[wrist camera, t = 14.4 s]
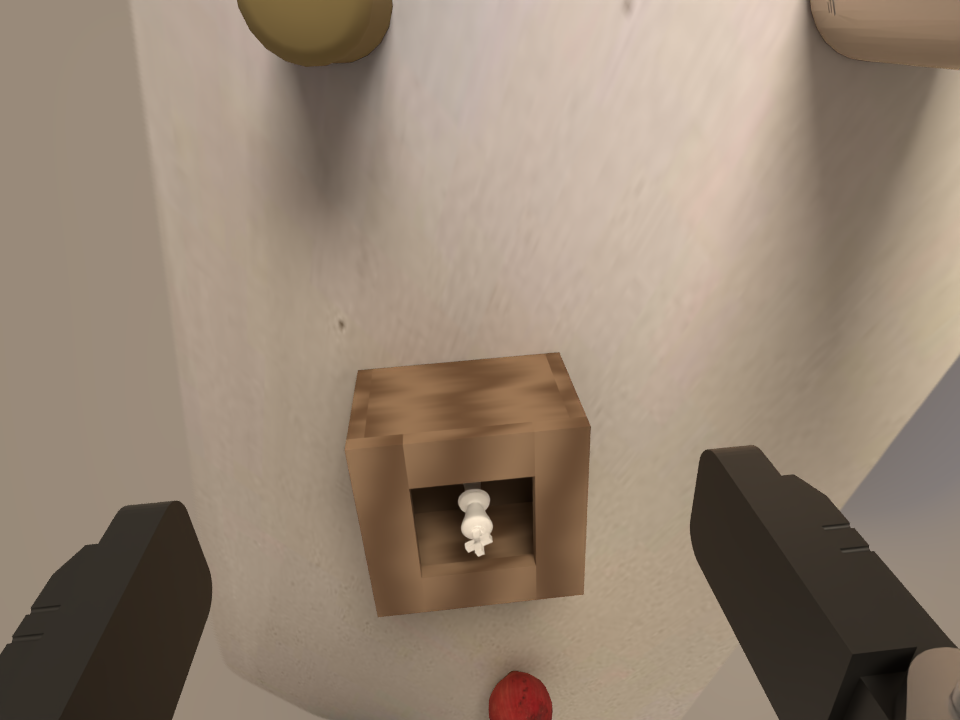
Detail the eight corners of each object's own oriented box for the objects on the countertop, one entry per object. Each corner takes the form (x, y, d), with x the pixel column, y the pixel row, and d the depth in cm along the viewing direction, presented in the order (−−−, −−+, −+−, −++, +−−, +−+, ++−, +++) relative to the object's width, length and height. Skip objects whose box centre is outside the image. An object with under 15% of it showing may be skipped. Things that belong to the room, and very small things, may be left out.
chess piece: (512, 455, 47) (533, 561, 38) (455, 482, 47) (463, 591, 39) (481, 410, 44) (497, 512, 36) (422, 439, 45) (423, 545, 36)
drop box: (559, 352, 43) (590, 426, 35) (557, 504, 50) (583, 594, 42) (358, 370, 42) (344, 450, 35) (384, 522, 49) (377, 617, 41)
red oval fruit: (515, 644, 58) (529, 729, 51) (556, 667, 60) (574, 752, 53) (472, 676, 60) (480, 762, 53) (514, 697, 62) (526, 783, 55)
